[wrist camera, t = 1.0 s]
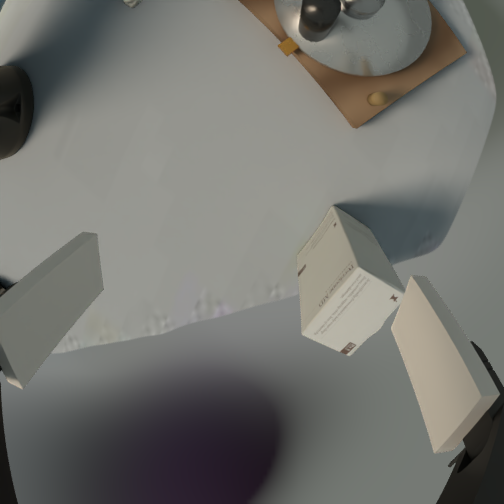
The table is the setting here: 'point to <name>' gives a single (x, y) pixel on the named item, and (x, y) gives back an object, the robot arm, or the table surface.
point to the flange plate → (356, 33)
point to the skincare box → (345, 284)
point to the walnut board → (370, 88)
